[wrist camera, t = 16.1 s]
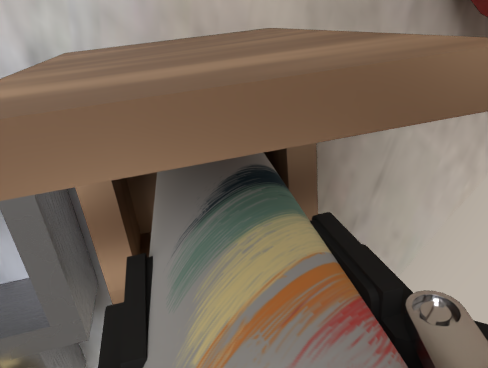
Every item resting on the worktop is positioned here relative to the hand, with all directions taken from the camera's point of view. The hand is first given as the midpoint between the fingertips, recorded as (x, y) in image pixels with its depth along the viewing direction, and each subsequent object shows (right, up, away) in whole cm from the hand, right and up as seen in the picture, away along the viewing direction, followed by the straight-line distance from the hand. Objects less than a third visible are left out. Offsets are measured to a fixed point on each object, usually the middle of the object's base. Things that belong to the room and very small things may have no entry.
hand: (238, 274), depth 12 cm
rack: (-3, +5, +11) cm, 12 cm away
